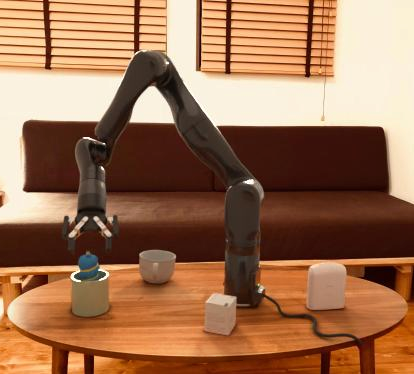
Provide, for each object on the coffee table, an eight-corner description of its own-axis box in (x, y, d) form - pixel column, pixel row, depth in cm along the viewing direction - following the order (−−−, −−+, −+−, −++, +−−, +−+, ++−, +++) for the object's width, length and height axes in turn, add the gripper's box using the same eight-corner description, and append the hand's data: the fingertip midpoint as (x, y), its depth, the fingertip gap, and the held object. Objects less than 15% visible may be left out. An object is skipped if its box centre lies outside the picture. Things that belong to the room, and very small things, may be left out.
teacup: (145, 272, 145) (145, 247, 144) (179, 275, 144) (179, 250, 142) (130, 289, 131) (130, 262, 130) (168, 292, 130) (168, 265, 129)
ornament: (94, 311, 115) (93, 253, 113) (75, 309, 116) (73, 252, 114) (103, 303, 120) (102, 247, 118) (84, 301, 121) (83, 245, 119)
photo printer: (309, 311, 121) (312, 266, 119) (303, 304, 125) (306, 260, 123) (346, 309, 123) (350, 265, 120) (339, 303, 127) (343, 259, 125)
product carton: (212, 320, 114) (213, 292, 113) (235, 324, 112) (237, 296, 111) (203, 331, 108) (204, 302, 107) (228, 336, 106) (229, 306, 105)
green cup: (115, 304, 121) (115, 272, 120) (95, 319, 113) (95, 284, 111) (85, 299, 124) (85, 266, 122) (63, 312, 115) (62, 278, 114)
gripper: (63, 191, 122) (58, 246, 113) (118, 191, 125) (118, 245, 116) (66, 206, 128) (62, 260, 119) (118, 206, 131) (118, 258, 122)
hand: (89, 252), depth 118 cm, fingers open, 8 cm apart
